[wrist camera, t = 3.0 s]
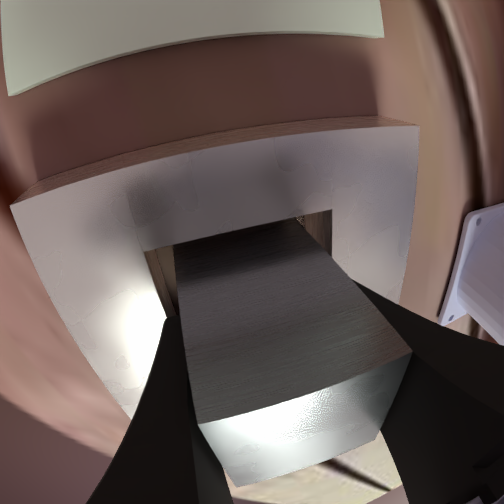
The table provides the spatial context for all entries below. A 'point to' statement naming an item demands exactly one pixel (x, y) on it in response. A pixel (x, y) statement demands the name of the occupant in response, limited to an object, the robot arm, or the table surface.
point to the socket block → (212, 222)
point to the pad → (155, 28)
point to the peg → (282, 350)
